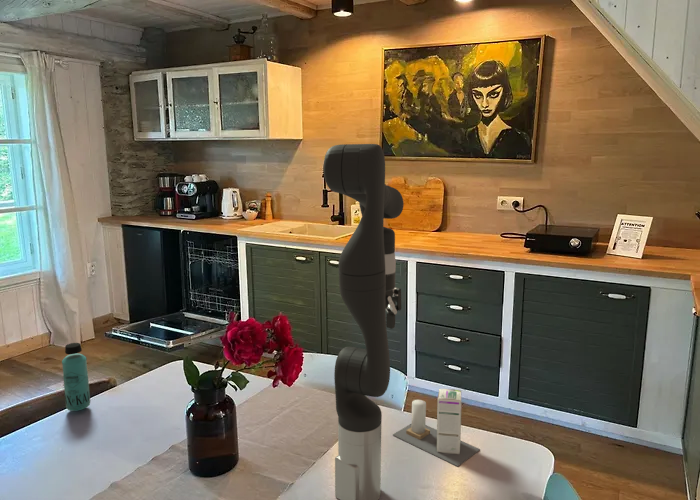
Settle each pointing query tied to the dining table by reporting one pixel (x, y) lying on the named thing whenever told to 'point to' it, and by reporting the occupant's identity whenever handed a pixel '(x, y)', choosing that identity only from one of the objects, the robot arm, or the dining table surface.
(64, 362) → the beverage bottle
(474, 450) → the candle tray
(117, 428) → the dining table surface
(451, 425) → the syrup box
